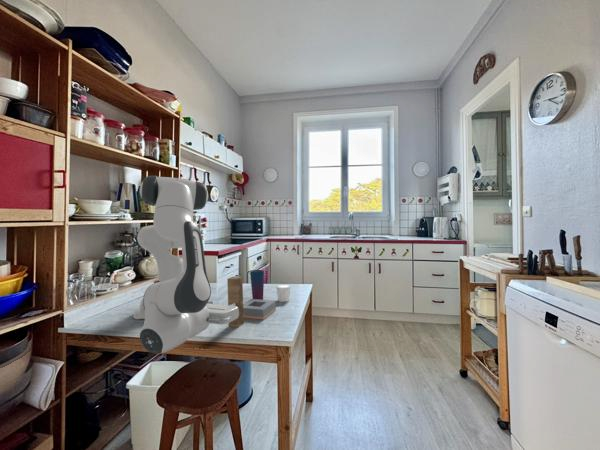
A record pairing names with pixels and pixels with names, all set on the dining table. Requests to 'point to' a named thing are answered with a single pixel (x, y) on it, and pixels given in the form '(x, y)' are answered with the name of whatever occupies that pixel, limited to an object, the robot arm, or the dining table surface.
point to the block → (236, 298)
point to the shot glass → (283, 292)
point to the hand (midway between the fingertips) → (222, 304)
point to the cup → (257, 283)
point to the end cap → (258, 308)
